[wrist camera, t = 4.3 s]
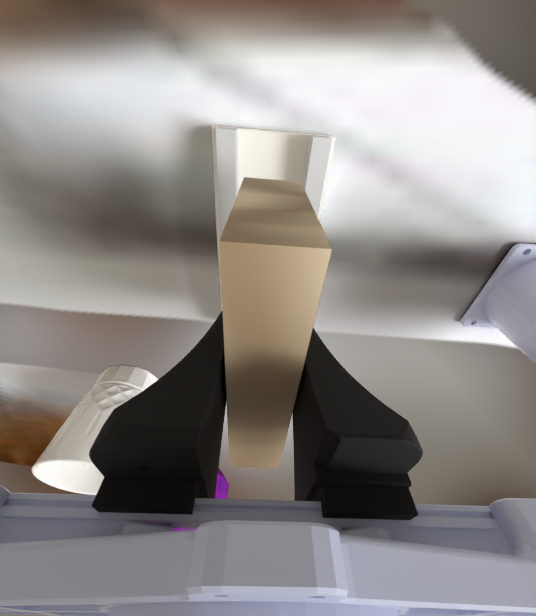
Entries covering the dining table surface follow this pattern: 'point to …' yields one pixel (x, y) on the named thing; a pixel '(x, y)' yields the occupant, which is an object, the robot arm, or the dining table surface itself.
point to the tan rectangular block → (268, 312)
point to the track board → (266, 165)
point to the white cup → (88, 431)
